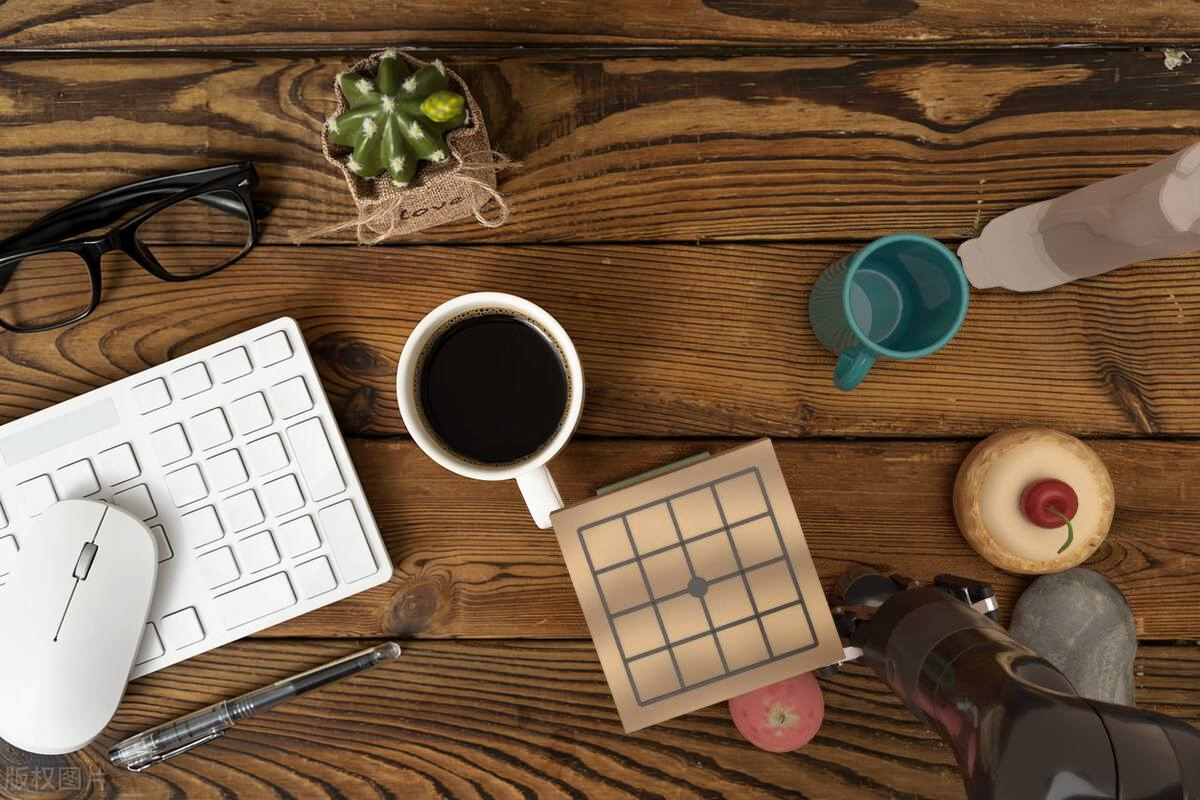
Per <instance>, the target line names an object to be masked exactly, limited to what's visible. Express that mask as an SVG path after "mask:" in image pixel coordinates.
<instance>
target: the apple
mask: <svg viewBox="0 0 1200 800" xmlns="http://www.w3.org/2000/svg"><path fill="white" fill-rule="evenodd" d="M814 675H815V674H813V673H812V670H811V671H809V672H806V673H803V674H800V675H797V676H794V677H791V678H788V679H785V680H782V681H779V682H776V683H774V684H771V685H768V686H765V687H762V688H759V689H756V690H753V691H750V692H747V693H744V694H742V695H739V696H736V697H733V698H730V699H727V700H728V708H729V711H730V712H729V713H730V716H731V719H732V721H733V723H734V725H735V727H736V729H737V730H738V731H739V733H740V734H741V735H742V736H743V737H744V738H745V739H747V741H749V742H750V743H751V744H752V745H754V746H756V747H757V748H760V749H762V750H763V751H767V752H772V753H777V754H778V753H789V752H792V751H796V750H798V749H800V748H802V747H803V746H805V745H807V743H809V742H810V741H811V740H812V739H813V738H814V737H815V736H816V734H817V732H818V731H819V729H820V728H821V726H822V723H823V719H824V716H825V700H824V697H823V692H822V688H821V687H820V684H819V681H818V680H817V678H816V677H815V676H814Z"/></svg>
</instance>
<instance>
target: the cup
mask: <svg viewBox="0 0 1200 800" xmlns="http://www.w3.org/2000/svg"><path fill="white" fill-rule="evenodd" d="M969 305H970V286H969V280H968V278H967V276H966V274H965V271H964V269H963V264H962V262H960V259H958V258H957V256H956V255H955V254H954V253H953V252H952V250H950V248H948V247H947V246H946V245H944V244H943V243H942V242H940V241H939V240H937V239H935V238H933V237H931V236H928V235H925V234H922V233H921V234H920V233H915V232H899V233H898V232H897V233H892V234H887V235H885V236H882V237H879V238H878V239H876V240H874V241H872V242H870V243H868V244H866V245H864V246H862V247H860V248H858V249H857V250H855V251H852V252H850V253H848V254H847V255H845V256H843V257H841V258H838V259H837V260H835V261H833V262H832V263H831V264H829V265H828V266H827V267H826V268H825V269H824V270H823V271H821V273H820V274H819V275H818V277H817V279H816V280H815V282H814V284H813V286H812V288H811V291H810V294H809V298H808V307H807V309H808V310H807V311H808V319H809V323H810V326H811V329H812V332H813V333H814V335H815V337H816V338H817V340H818V342H819V343H820V344H821V345H822V346H823V347H824V348H825V350H827V351H829V352H830V353H831V354H832V355H834V356H837V357H838V358H837V360H836V362H835V366H834V370H833V373H832V383H833V386H834V387H835V388H836V389H838V390H839V391H841V392H845V393H849V392H852V391H854V390H856V389H857V387H859V386H860V384H861V383H862V382H863V381H864V380H865V378H866V377H867V375H868V374H869V372H870V371H871V370H872V369H871V368H872V367H873V365H874V364H875V363H877V362H894V361H907V360H909V361H910V360H915V359H921V358H924V357H928V356H930V355H932V354H934V353H936V352H938V351H939V350H941V349H943V348H944V347H946V345H947V344H949V343H950V342H951V341H952V340H953V339H954V338H955V336H956V335H957V334H958V333H959V331H960V329H961V328H962V326H963V324H964V322H965V319H966V317H967V314H968V309H969Z"/></svg>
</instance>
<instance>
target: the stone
mask: <svg viewBox="0 0 1200 800" xmlns="http://www.w3.org/2000/svg"><path fill="white" fill-rule="evenodd" d="M1007 632H1008V633H1009V634H1010V635H1011V636H1012V637H1013V638H1014V639H1016V640H1017V641H1019V642H1021V643H1022V644H1024V645H1025V646H1027V647H1029V648H1030V649H1032V650H1034V651H1035V652H1037V653H1039V654H1040V655H1042V656H1043V657H1045V658H1046V659H1047V660H1048V661H1050V662H1051V663H1052V664H1053V665H1055V666H1056V667H1057V668H1058V669H1059V670H1061V671H1062V673H1063V674H1064V675H1065V676H1066V677H1067V678H1068V679H1069V681H1070V682H1071V683H1072V685H1073V686H1074V688H1075V690H1076V691H1077V693H1078V695H1079V696H1082V697H1087V698H1092V699H1097V700H1102V701H1106V702H1111V703H1116V704H1121V705H1126V706H1131V707H1136V708H1137V703H1136V679H1135V675H1134V667H1135V666H1134V665H1135V659H1136V656H1137V652H1138V641H1137V626H1136V621H1135V615H1134V612H1133V610H1132V608H1131V606H1130V604H1129V602H1128V600H1127V598H1126V596H1125V594H1124V593H1123V591H1121V589H1120V588H1119V587H1118V586H1117V585H1116V584H1115V582H1113V581H1112V580H1110V579H1109V578H1108V577H1106V576H1104V575H1102V574H1101V573H1099V572H1097V571H1094V570H1091V569H1089V568H1084V567H1079V566H1074V567H1072V568H1069V569H1067V570H1063V571H1060V572H1055V573H1046V574H1041V575H1039V576H1038V577H1037V578H1036V579H1035V580H1033V581H1032V583H1030V584H1029V586H1027V588H1026V589H1025V590H1023V592H1022V593H1021V595H1020V597H1019V598H1018V599H1017V601H1016V604H1015V606H1014V608H1013V611H1012V613H1011V617H1010V621H1009V626H1008V630H1007Z"/></svg>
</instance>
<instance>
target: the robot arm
mask: <svg viewBox="0 0 1200 800" xmlns="http://www.w3.org/2000/svg"><path fill="white" fill-rule="evenodd" d="M888 578H890V579H891V580H892V581H893V582H894V583H895V584H896V585H897V586H898V588H899V590H900V592H899V593H897V594H895V595H893V596H891V597H890V598H889V599H887V600H886V601H885V602H884V603H883V604H882V605H879V606H877V607H873V606H868V605H864V604H857V605H855V606H852V607H847V606H846V604H845V603H844V602H842V601H841V600H840V599H839V598H838V597H837V596H836V595H833V594H832V595H829V596H827V597H826V601H827V603H828V606H829V609H830V612H831V615H832V618H833V621H834V624H835V626H836V629H837V632H838V635H839V638H840V641H841V644H842V647H843V650H844V652H845V655H846V659H843V660H841V661H838V662H835V663H832V664H829V665H826V666H823V667H820V668H818V670H819V674H820V676H821V677H823V678H829V677H830V678H831V677H834V676H835V675H836V674H837V673H838V672H839V670H838V667H842V666H843V665H844V662H847V661H851V660H854V661H855V662H856V663H857V664H859V665H861V666H864V667H869V668H871V670H872V671H873V672H874V673H875V675H876V677H878V679H879V680H880V681H881V683H883V684H884V685H885V686H886V688H888V690H890V692H891V693H892V694H893V695H894V696H895V697H896V698H897V699H898V700H899V702H901V703H902V704H903V705H904V707H905V708H906V709H907V710H908V711H909V712H910V714H911V715H913V716H914V718H916V719H917V720H918V721H919V722H920V723H922V724H923V725H924V726H925V727H926V728H929V729H930V730H931V731H932V732H934V733H935V734H937V735H938V737H939V738H940V739H942V740H943V741H944V742H945V744H946V745H947V746H948V747H949V748H950V749H951V750H952V753H953V756H954V759H955V762H956V764H957V767H958V769H959V772H960V775H961V779H962V783H963V787H964V792H965V795H966V797H967V800H1200V729H1199V728H1197V727H1195V726H1193V725H1192V724H1190V723H1188V722H1186V721H1185V720H1182V719H1181V718H1178V717H1175V716H1173V715H1171V714H1167V713H1164V712H1160V711H1155V710H1151V709H1146V708H1141V707H1137V706H1136V707H1131V706H1126V705H1121V704H1116V703H1111V702H1106V701H1102V700H1097V699H1092V698H1087V697H1082V696H1079V695H1078V693H1077V691H1076V690H1075V688H1074V686H1073V685H1072V683H1071V682H1070V681H1069V679H1068V678H1067V677H1066V676H1065V675H1064V674H1063V673H1062V671H1061V670H1059V669H1058V668H1057V667H1056V666H1055V665H1053V664H1052V663H1051V662H1050V661H1048V660H1047V659H1046V658H1045V657H1043V656H1042V655H1040V654H1039V653H1037V652H1035V651H1034V650H1032V649H1030V648H1029V647H1027V646H1025V645H1024V644H1022V643H1021V642H1019V641H1017V640H1016V639H1014V638H1013V637H1012V636H1011V635H1010V634H1009V633H1008V630H1006V629H1005V628H1004V626H1001V625H1000V624H999V623H998V622H996V621H997V620H1000V619H1002V617H1003V614H1002V611H1001V608H1000V604H999V601H998V599H997V595H996V593H995V590H994V588H993V585H992V583H991V582H988V581H983V580H979V579H972V578H969V577H964V576H959V575H955V574H949V573H939V574H937V575H935V576H934V577H933V578H932V579H933V582H931V583H926V581H925V580H924V579H919V578H918V579H914V578H912V577H911V576H907V575H906V576H903V575H901V574H899V573H894V574H891V575H889V576H888Z"/></svg>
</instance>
